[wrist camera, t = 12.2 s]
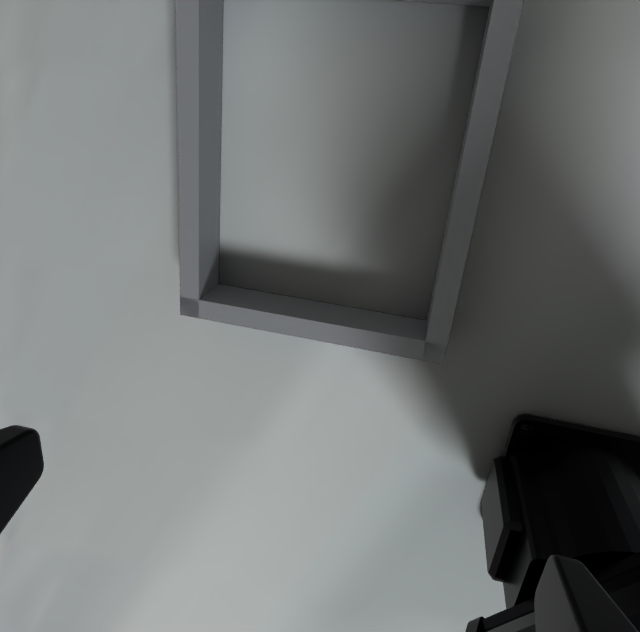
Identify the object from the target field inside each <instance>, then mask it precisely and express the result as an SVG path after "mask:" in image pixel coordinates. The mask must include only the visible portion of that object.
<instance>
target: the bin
mask: <svg viewBox="0 0 640 632" xmlns="http://www.w3.org/2000/svg"><path fill="white" fill-rule="evenodd" d="M402 1H416V2H429V3H443V4H457V5H471V6H485V7H489V12H488V17H487V22H486V27H485V32H484V37H483V42H482V47H481V52H480V57H479V62H478V67H477V72H476V77H475V82H474V87H473V92H472V97H471V102H470V107H469V112H468V117H467V123H466V128H465V133H464V138H463V143H462V148H461V153H460V158H459V163H458V168H457V173H456V178H455V183H454V188H453V193H452V198H451V203H450V208H449V213H448V218H447V223H446V228H445V233H444V238H443V243H442V248H441V253H440V258H439V263H438V268H437V273H436V278H435V283H434V288H433V293H432V298H431V303H430V308H429V313H428V318H427V321H426V320H421V319H415V318H409V317H404V316H398V315H392V314H386V313H381V312H375V311H369V310H364V309H358V308H352V307H347V306H341V305H335V304H330V303H324V302H318V301H312V300H307V299H301V298H295V297H290V296H284V295H278V294H273V293H267V292H261V291H256V290H250V289H244V288H238V287H233V286H227V285H221V284H219V239H220V180H221V121H222V62H223V3H224V0H175V8H176V71H177V133H178V196H179V259H180V315H185V316H190V317H195V318H200V319H206V320H211V321H216V322H222V323H227V324H232V325H238V326H243V327H248V328H253V329H259V330H264V331H269V332H275V333H280V334H285V335H290V336H296V337H301V338H306V339H312V340H317V341H322V342H328V343H333V344H338V345H343V346H349V347H354V348H359V349H365V350H370V351H375V352H381V353H386V354H391V355H396V356H402V357H407V358H412V359H418V360H423V361H428V362H433V363H439V364H443V362H444V358H445V353H446V349H447V344H448V340H449V335H450V331H451V326H452V322H453V317H454V313H455V308H456V304H457V299H458V295H459V290H460V286H461V281H462V277H463V272H464V268H465V263H466V259H467V254H468V250H469V245H470V241H471V236H472V232H473V227H474V223H475V218H476V214H477V209H478V205H479V200H480V196H481V191H482V186H483V182H484V177H485V173H486V168H487V164H488V159H489V155H490V150H491V146H492V141H493V137H494V132H495V128H496V123H497V119H498V114H499V110H500V105H501V101H502V96H503V92H504V87H505V83H506V78H507V74H508V69H509V65H510V60H511V56H512V51H513V47H514V42H515V38H516V33H517V29H518V24H519V20H520V15H521V11H522V6H523V2H524V0H402Z"/></svg>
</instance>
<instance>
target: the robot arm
mask: <svg viewBox="0 0 640 632" xmlns="http://www.w3.org/2000/svg"><path fill="white" fill-rule="evenodd" d="M523 425H530V426H531V428H529V429H527V430H524V429H521V427H522V426H523ZM43 468H44V461H43V455H42V449H41V442H40V436H39V434H38V432H37V431H36V430H34V429H32V428H28V427H23V426H19V425H13V426H9V427H6V428H3V429H0V534H1V532H2V531H3V529H4V528H5V527H6V525H7V524H8V522H9V521H10V520H11V518H12V517H13V515H14V514H15V512H16V511H17V510H18V508H19V507H20V505H21V504H22V503H23V501H24V500H25V498H26V497H27V496H28V494H29V493H30V491H31V490H32V489H33V487H34V486H35V484H36V483H37V481H38V480H39V478H40V477H41V475H42V472H43ZM481 505H482V516H483V528H484V537H485V548H486V559H487V569H488V573H489V575H490V576H491V578H492V579H493V580H497V581H501V582H503V586H504V594H505V602H506V610H504V611H501V612H499V613H497V614H494V615H492V616H490V617H487V618H483V617H479V618H477V619H474V620H472V621H470V622H469V623H468V625H467V628H466V632H640V437H639V436H634V435H629V434H624V433H619V432H614V431H609V430H604V429H599V428H594V427H589V426H584V425H579V424H574V423H569V422H564V421H559V420H554V419H549V418H544V417H539V416H534V415H529V414H522V415H519V416H517V417H516V418H515V419H514V421H513V423H512V427H511V430H510V433H509V437H508V440H507V443H506V447H505V450H504V453H503V456H501V455H499V456H498V457H496V458H495V459H494V460H493V463H492V466H491V470H490V473H489V477H488V480H487V483H486V487H485V490H484V494H483V497H482V501H481Z"/></svg>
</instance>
